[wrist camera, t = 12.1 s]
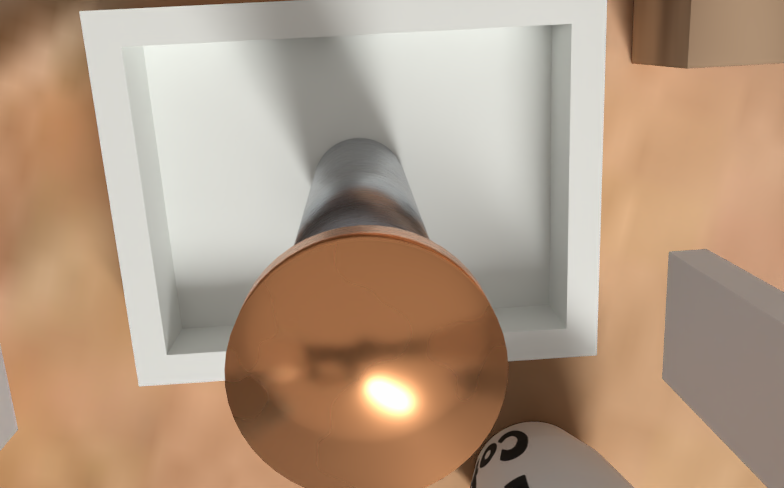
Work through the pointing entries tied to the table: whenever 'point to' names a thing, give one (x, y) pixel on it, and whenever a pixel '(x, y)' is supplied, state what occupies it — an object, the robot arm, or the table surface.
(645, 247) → the table surface
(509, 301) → the tray
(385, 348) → the pin
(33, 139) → the table surface
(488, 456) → the cup
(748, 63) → the socket block
